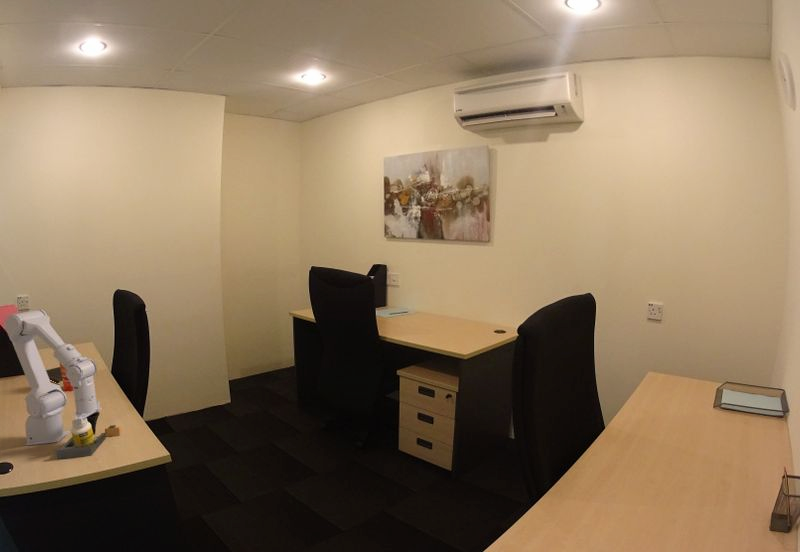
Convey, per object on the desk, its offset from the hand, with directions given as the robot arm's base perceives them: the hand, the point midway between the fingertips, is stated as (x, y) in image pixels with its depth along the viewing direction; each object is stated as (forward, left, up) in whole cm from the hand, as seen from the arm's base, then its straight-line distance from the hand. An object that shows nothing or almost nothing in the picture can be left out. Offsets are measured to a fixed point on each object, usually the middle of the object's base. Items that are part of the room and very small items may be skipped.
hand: (90, 435), depth 149 cm
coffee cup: (-28, +57, -2) cm, 64 cm away
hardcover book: (-40, +79, -3) cm, 88 cm away
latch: (+5, +4, -2) cm, 7 cm away
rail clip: (-1, -3, -2) cm, 3 cm away
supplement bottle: (-1, -2, -2) cm, 3 cm away
